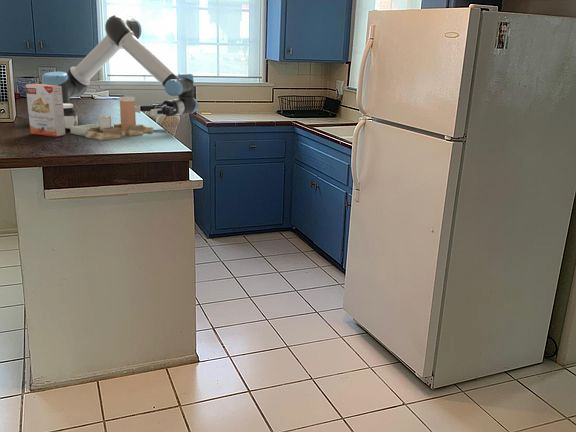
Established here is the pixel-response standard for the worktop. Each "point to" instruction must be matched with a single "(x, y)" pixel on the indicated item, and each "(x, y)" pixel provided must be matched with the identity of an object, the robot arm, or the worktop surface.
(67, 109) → the spread jar
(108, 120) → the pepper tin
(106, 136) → the wooden blocks
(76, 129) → the tray
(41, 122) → the cracker box
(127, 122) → the lidded box
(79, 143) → the worktop surface
